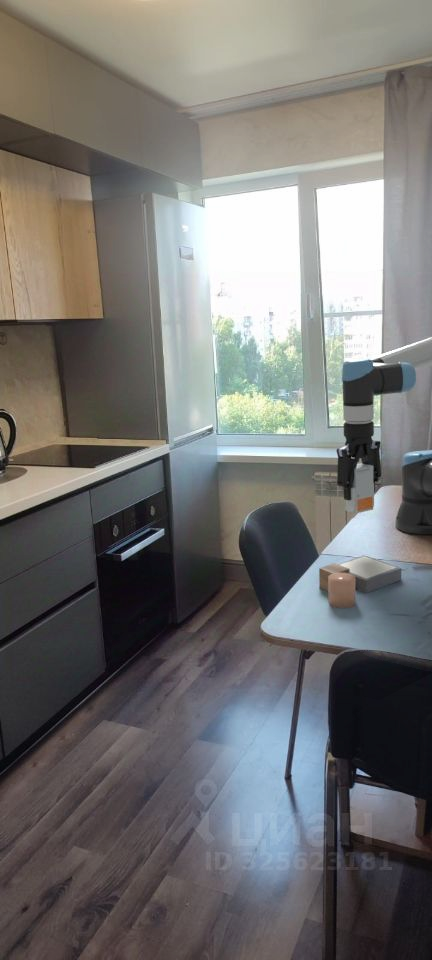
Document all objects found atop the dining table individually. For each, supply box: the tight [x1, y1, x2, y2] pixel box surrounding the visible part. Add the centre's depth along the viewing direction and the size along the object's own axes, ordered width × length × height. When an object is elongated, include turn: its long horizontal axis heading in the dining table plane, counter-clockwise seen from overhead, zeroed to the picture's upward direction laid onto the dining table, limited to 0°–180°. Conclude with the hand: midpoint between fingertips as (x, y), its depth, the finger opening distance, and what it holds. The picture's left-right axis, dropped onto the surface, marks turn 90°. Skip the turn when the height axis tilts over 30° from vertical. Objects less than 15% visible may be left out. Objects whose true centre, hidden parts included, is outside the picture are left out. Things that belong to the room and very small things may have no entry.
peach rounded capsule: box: [327, 573, 356, 609], centre depth 152 cm, size 6×6×6 cm
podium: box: [337, 554, 402, 594], centre depth 164 cm, size 12×12×3 cm
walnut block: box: [318, 563, 350, 592], centre depth 160 cm, size 5×5×5 cm
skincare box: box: [347, 462, 374, 515], centre depth 174 cm, size 6×4×12 cm
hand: (359, 508), depth 175 cm, fingers closed on skincare box, 6 cm apart
